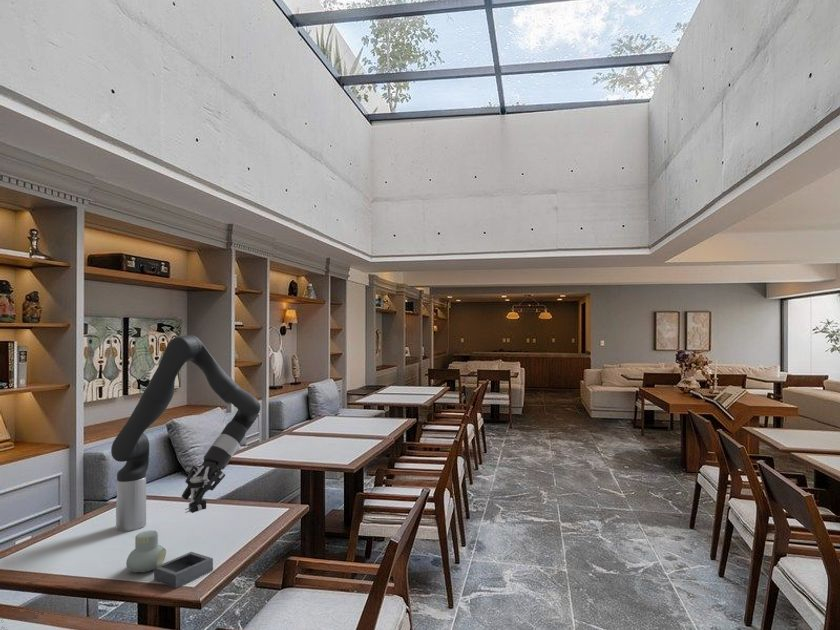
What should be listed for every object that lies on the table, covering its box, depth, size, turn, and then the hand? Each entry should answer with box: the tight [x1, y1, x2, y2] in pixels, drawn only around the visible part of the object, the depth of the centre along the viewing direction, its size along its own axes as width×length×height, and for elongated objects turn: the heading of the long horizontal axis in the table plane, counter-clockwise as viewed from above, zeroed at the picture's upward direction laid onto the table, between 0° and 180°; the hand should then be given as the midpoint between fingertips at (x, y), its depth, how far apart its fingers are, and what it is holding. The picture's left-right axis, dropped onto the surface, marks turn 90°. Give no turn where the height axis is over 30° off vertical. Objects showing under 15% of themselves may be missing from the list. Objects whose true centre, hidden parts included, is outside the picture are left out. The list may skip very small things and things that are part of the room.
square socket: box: [153, 551, 214, 589], centre depth 147 cm, size 10×12×4 cm
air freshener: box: [125, 530, 167, 573], centre depth 152 cm, size 11×8×10 cm
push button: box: [184, 476, 207, 514], centre depth 160 cm, size 7×5×10 cm
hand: (189, 499), depth 158 cm, fingers closed on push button, 4 cm apart
